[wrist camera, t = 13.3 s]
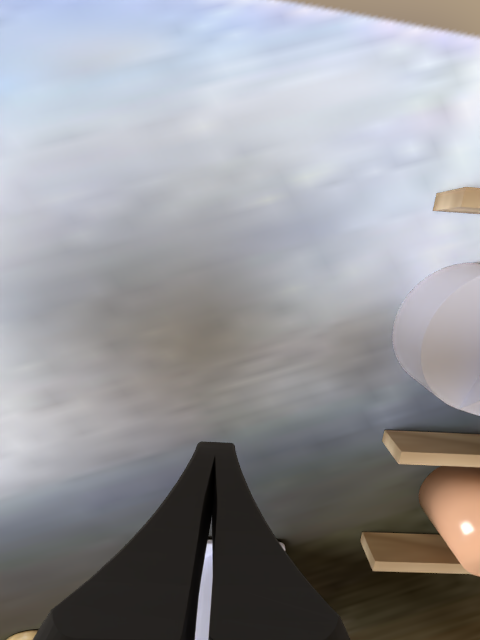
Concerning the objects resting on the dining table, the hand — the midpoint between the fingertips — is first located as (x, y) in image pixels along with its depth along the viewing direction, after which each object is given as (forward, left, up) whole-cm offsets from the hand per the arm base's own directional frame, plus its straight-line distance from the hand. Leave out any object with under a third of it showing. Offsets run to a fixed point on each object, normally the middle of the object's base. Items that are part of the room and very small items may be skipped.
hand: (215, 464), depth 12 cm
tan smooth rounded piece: (-10, -20, -10) cm, 24 cm away
